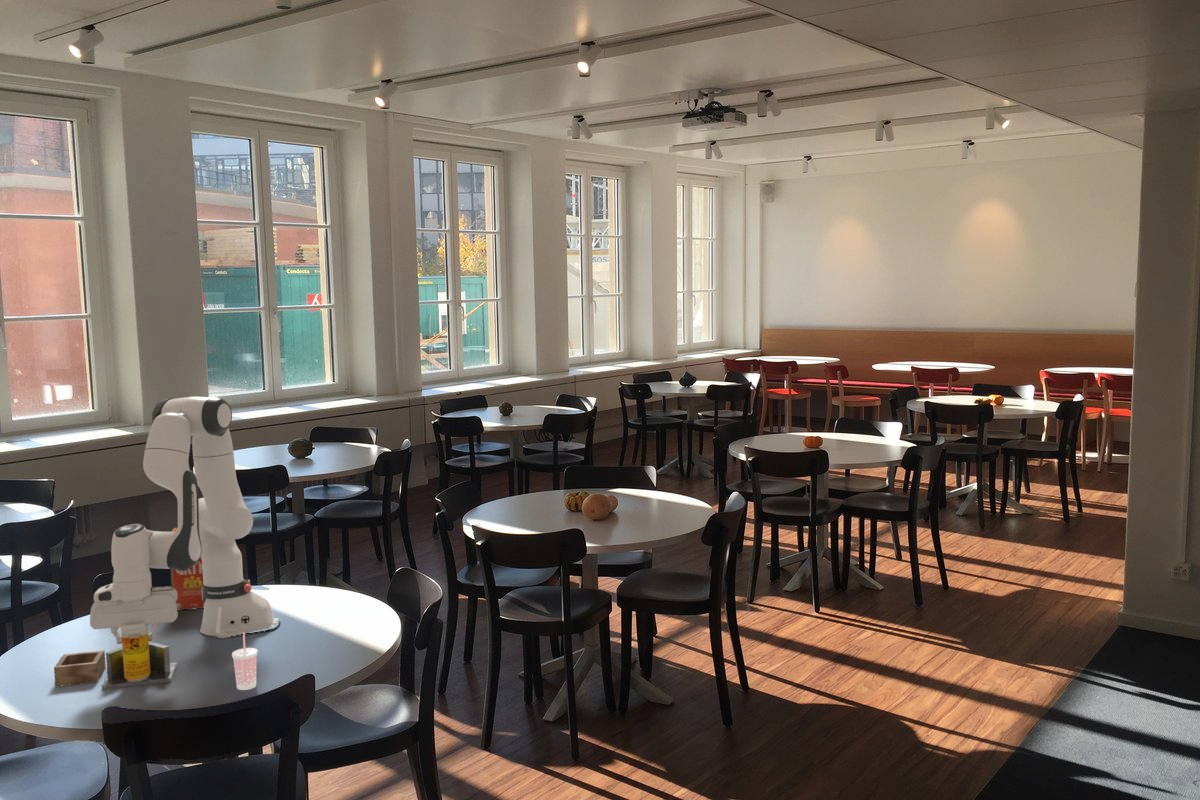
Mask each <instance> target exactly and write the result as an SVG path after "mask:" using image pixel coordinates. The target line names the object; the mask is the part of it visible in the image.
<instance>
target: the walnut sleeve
mask: <svg viewBox="0 0 1200 800" xmlns="http://www.w3.org/2000/svg"><path fill="white" fill-rule="evenodd" d="M106 669H107V664H106V653H105V650H104V649H103V650H95V651H86V652H75V653H73V652H72V653H66V654H65V653H64V654H63V655H62V656H61V657H60V659H59V660H58V662H56V664H55V665H54V667H53V672H54V685H55V686H58V687H62V686H61V685H67V686H74V685H73V684H76V685H84V684H93V683H98V682H99V681H100V679H101V677H102V676H103V673H104V672H105V671H104V670H106ZM69 684H70V685H69ZM55 686H54V687H55Z"/></svg>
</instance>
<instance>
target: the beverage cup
mask: <svg viewBox="0 0 1200 800" xmlns="http://www.w3.org/2000/svg"><path fill="white" fill-rule="evenodd" d="M242 642H243V646H242V647H243V648H239V649H236V650H234V651H232V653H231V658H233V659H232V660H233V668H234V674H235V675H234V677H235V683H236V689H237V690H240V691H247V690H251V689H252V690H253V689H254V688H256V687H257V660H258V659H257V655H258V652H259V651H258V649H257V648H254V647H246V635H245V633H243V635H242Z"/></svg>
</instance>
